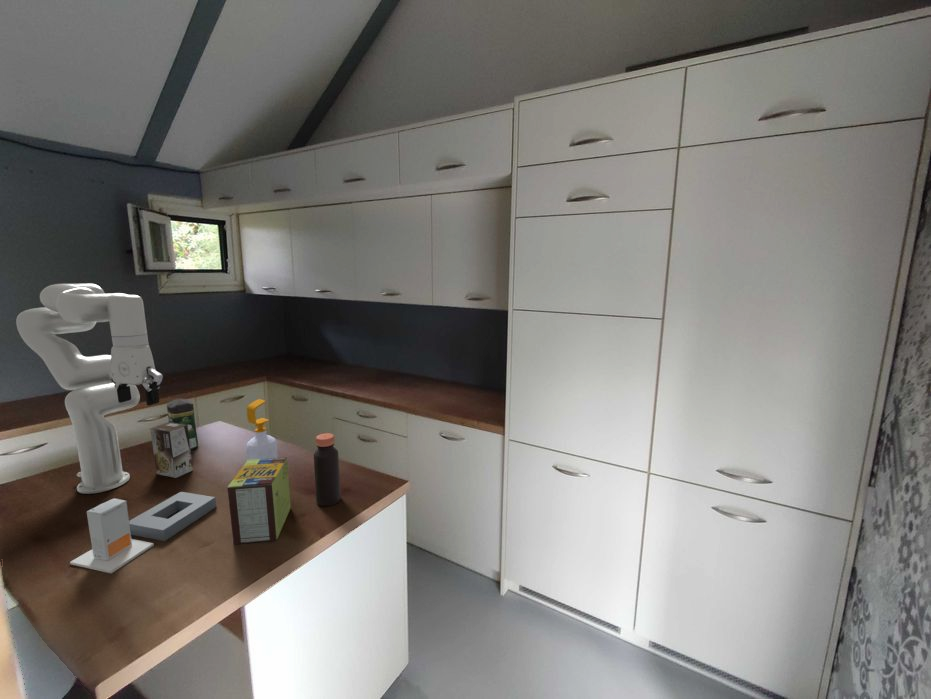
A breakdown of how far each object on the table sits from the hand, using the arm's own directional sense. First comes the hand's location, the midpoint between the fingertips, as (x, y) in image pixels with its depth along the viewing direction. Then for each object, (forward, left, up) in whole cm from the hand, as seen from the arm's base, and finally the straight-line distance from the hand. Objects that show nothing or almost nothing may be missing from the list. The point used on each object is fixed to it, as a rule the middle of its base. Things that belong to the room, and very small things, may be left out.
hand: (139, 402), depth 116 cm
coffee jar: (-25, +34, -31) cm, 52 cm away
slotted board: (+13, -5, -30) cm, 33 cm away
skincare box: (+12, -20, -30) cm, 38 cm away
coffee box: (-11, +17, -31) cm, 37 cm away
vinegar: (+48, +14, -31) cm, 59 cm away
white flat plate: (+12, -20, -30) cm, 38 cm away
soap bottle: (+17, +25, -31) cm, 43 cm away
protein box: (+38, -1, -31) cm, 49 cm away
